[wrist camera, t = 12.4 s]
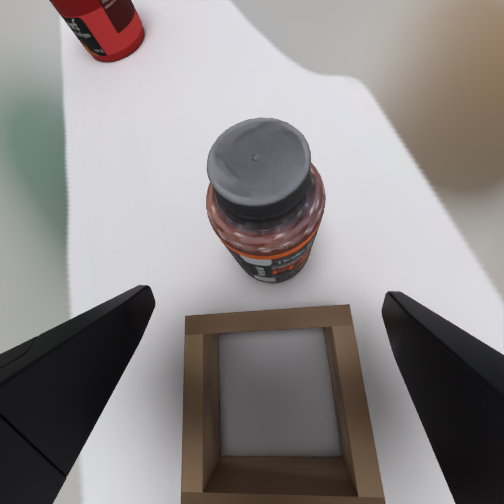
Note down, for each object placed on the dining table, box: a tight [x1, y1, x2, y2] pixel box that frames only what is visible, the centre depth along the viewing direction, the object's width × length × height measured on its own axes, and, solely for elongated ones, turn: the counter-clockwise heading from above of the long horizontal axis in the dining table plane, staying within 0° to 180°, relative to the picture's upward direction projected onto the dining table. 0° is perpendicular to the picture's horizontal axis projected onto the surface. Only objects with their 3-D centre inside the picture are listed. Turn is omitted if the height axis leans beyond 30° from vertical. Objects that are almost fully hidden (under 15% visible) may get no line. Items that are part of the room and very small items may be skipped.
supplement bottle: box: [206, 118, 326, 283], centre depth 14 cm, size 6×6×11 cm
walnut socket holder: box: [181, 304, 385, 504], centre depth 15 cm, size 10×10×4 cm
